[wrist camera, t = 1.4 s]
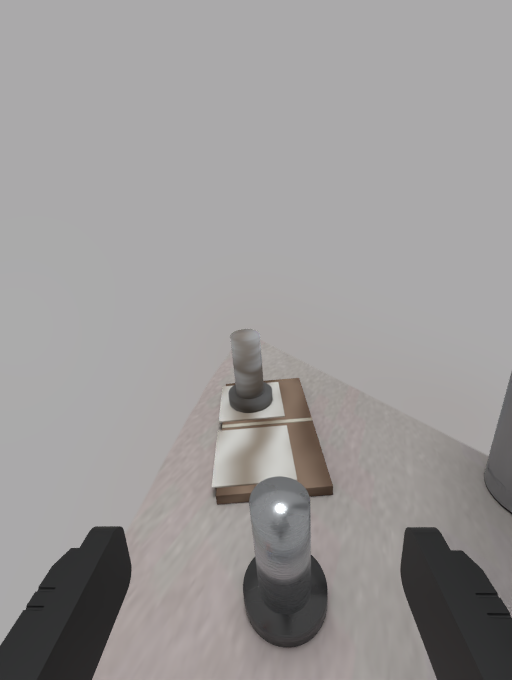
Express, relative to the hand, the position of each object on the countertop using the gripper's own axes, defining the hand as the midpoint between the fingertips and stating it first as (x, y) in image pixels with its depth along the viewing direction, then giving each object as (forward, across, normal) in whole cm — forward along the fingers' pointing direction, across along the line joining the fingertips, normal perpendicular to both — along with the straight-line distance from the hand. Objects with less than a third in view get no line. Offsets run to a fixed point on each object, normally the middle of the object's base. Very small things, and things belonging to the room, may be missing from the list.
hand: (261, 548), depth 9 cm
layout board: (+31, 0, +17) cm, 35 cm away
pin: (+11, -1, +19) cm, 22 cm away
